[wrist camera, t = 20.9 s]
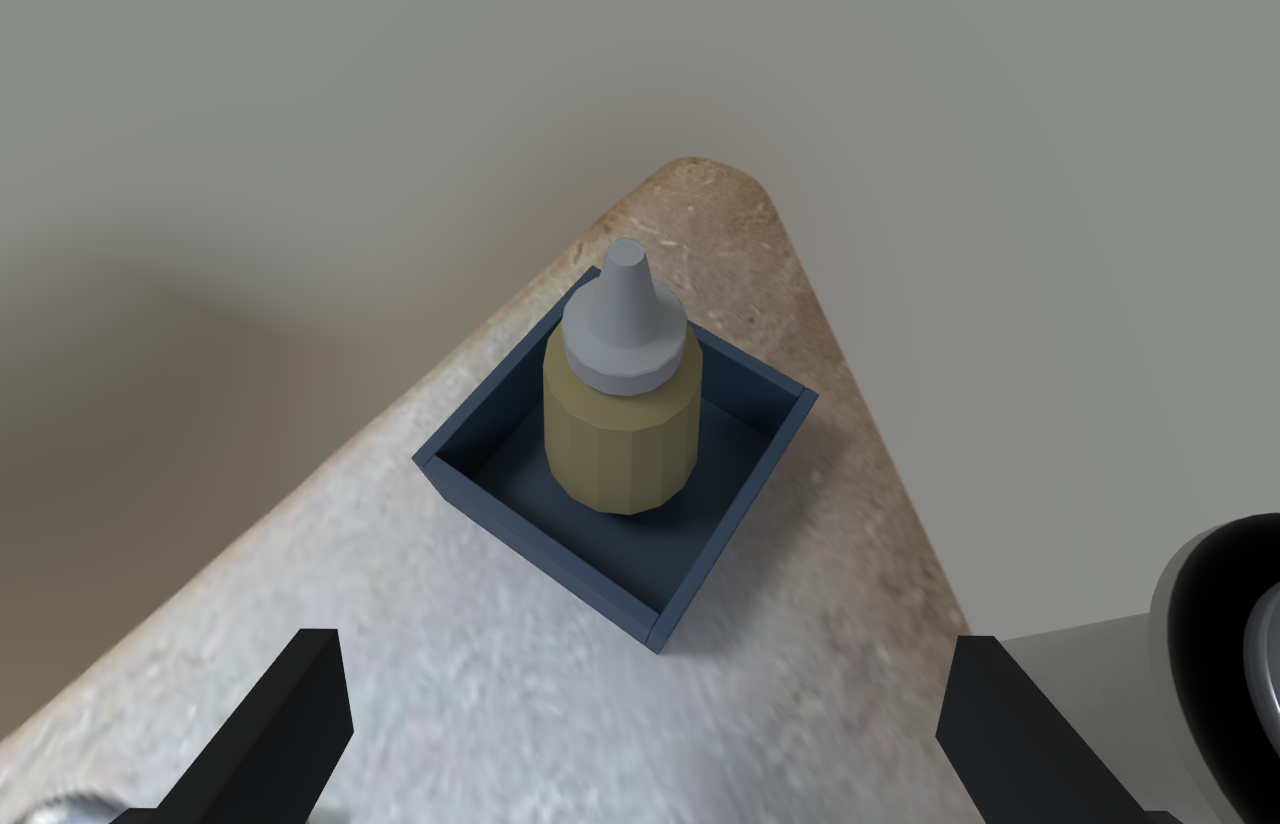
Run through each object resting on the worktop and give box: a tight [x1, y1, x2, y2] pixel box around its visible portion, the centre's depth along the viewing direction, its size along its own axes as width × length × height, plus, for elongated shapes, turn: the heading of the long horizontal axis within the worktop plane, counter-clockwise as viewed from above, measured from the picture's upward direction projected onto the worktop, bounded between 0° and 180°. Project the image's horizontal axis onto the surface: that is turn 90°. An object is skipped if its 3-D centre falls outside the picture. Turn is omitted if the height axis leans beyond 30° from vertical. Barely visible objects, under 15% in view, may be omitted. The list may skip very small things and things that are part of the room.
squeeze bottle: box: [543, 237, 703, 515], centre depth 27 cm, size 8×8×18 cm
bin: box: [412, 266, 819, 654], centre depth 32 cm, size 15×15×6 cm
